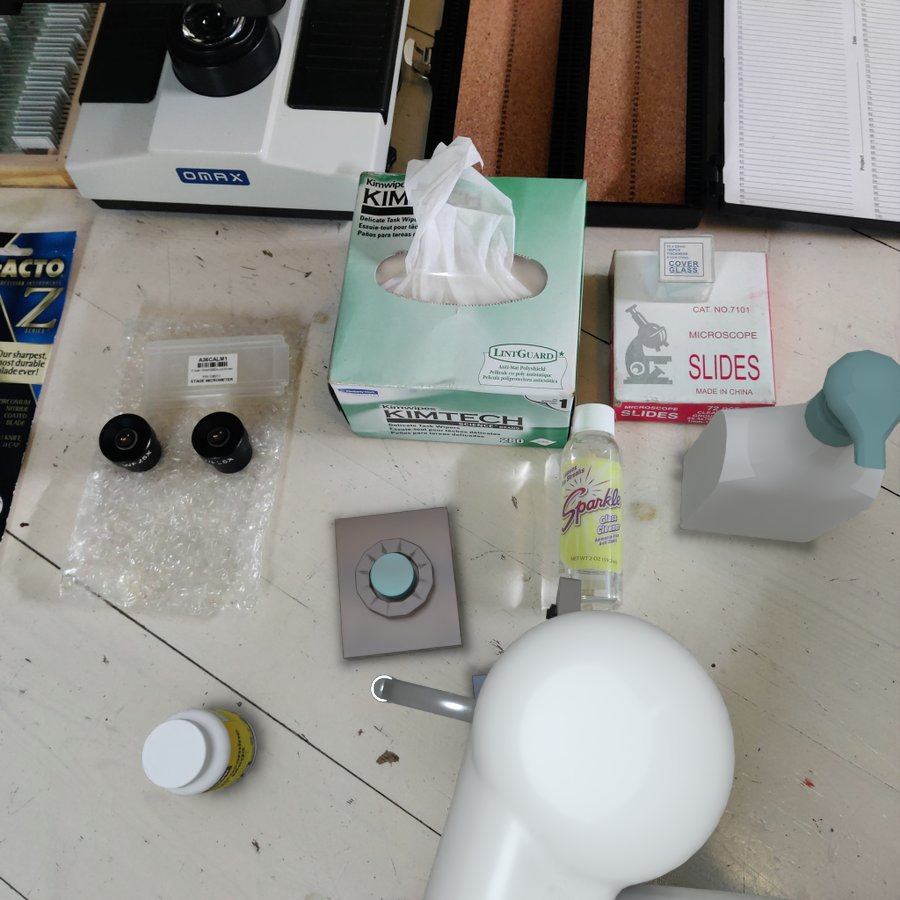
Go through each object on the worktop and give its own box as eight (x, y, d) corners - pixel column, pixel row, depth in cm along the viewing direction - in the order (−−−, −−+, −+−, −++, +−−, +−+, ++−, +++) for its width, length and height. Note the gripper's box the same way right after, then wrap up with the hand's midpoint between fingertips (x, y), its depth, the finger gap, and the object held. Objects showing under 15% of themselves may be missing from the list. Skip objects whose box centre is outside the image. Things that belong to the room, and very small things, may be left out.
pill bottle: (241, 799, 67) (193, 814, 56) (174, 773, 68) (115, 783, 57) (270, 724, 68) (229, 725, 58) (204, 699, 69) (152, 696, 59)
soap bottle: (677, 548, 71) (781, 451, 45) (681, 459, 74) (782, 319, 48) (806, 563, 70) (988, 473, 44) (805, 473, 73) (977, 336, 47)
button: (417, 596, 68) (415, 593, 66) (375, 601, 68) (371, 598, 66) (413, 554, 69) (411, 550, 67) (371, 559, 69) (368, 555, 67)
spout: (578, 706, 51) (588, 705, 45) (567, 766, 50) (576, 772, 44) (385, 658, 52) (371, 651, 47) (370, 715, 51) (355, 715, 46)
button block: (463, 647, 70) (461, 643, 66) (347, 660, 70) (339, 657, 66) (448, 512, 73) (445, 500, 70) (339, 524, 74) (330, 514, 70)
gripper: (643, 993, 30) (590, 896, 47) (676, 542, 36) (618, 598, 52) (445, 954, 31) (463, 872, 48) (507, 517, 36) (503, 581, 53)
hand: (544, 729), depth 50 cm, fingers open, 7 cm apart
